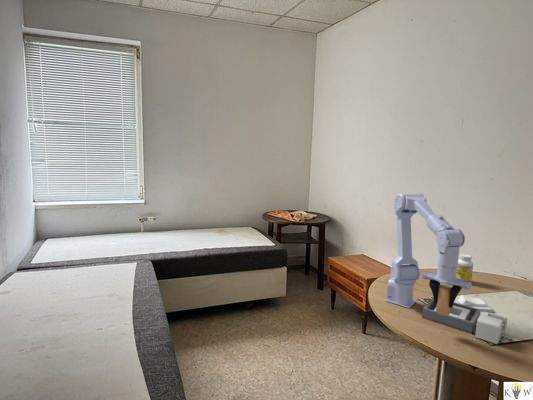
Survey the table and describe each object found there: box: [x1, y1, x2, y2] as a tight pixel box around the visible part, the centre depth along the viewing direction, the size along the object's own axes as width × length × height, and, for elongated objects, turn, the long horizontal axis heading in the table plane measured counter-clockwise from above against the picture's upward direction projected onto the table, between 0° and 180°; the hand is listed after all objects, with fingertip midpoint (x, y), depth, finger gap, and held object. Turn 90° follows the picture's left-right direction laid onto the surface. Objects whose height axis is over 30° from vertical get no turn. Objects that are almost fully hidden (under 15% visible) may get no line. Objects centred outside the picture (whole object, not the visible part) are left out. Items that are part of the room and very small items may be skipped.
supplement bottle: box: [456, 253, 474, 283], centre depth 162 cm, size 7×7×13 cm
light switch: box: [454, 294, 495, 313], centre depth 138 cm, size 11×4×13 cm
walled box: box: [422, 297, 482, 334], centre depth 127 cm, size 16×14×4 cm
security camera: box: [474, 312, 509, 345], centre depth 114 cm, size 6×7×10 cm
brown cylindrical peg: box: [436, 284, 452, 316], centre depth 115 cm, size 4×4×9 cm
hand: (443, 304), depth 115 cm, fingers closed on brown cylindrical peg, 4 cm apart
